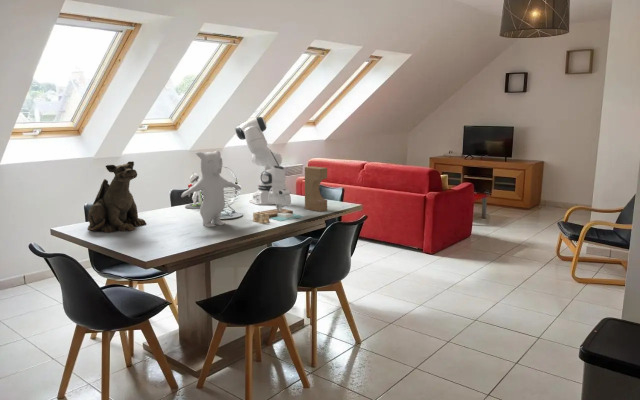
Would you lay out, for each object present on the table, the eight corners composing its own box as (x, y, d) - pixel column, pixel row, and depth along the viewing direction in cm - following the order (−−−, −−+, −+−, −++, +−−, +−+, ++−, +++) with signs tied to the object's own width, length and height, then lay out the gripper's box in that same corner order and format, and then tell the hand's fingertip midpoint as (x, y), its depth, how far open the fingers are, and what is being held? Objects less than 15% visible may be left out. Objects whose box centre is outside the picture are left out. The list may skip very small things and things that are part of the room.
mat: (268, 218, 332) (268, 217, 332) (292, 214, 345) (292, 213, 345) (280, 221, 323) (280, 220, 323) (304, 216, 337) (304, 216, 337)
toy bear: (191, 233, 292) (188, 154, 284) (176, 228, 304) (172, 153, 296) (250, 221, 322) (248, 150, 314) (234, 217, 334) (232, 148, 326)
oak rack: (252, 221, 323) (252, 212, 322) (260, 219, 327) (260, 211, 326) (262, 223, 316) (261, 215, 315) (269, 222, 320) (269, 213, 319)
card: (277, 216, 337) (277, 213, 336) (284, 215, 341) (284, 212, 340) (285, 218, 330) (285, 215, 330) (293, 217, 334) (292, 214, 334)
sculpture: (118, 237, 283) (113, 165, 276) (76, 229, 300) (70, 162, 293) (160, 226, 309) (156, 160, 302) (119, 220, 327) (115, 158, 320)
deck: (255, 215, 341) (255, 212, 340) (280, 210, 356) (280, 208, 355) (267, 218, 331) (267, 215, 331) (292, 213, 346) (292, 210, 346)
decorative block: (327, 210, 358) (327, 167, 353) (320, 211, 352) (320, 168, 347) (311, 207, 368) (311, 166, 363) (304, 209, 362) (304, 167, 357)
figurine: (195, 204, 381) (193, 170, 377) (213, 205, 374) (212, 172, 370) (180, 208, 366) (178, 173, 362) (199, 210, 359) (197, 174, 355)
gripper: (265, 189, 342) (265, 209, 344) (284, 192, 327) (285, 213, 330) (272, 188, 346) (273, 208, 348) (292, 191, 331) (292, 212, 334)
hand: (279, 210), depth 339 cm, fingers closed
